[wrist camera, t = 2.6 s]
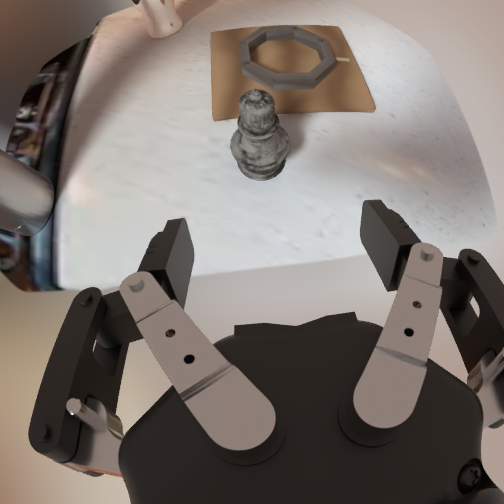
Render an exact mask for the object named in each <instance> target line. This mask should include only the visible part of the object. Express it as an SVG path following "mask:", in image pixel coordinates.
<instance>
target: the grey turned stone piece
mask: <svg viewBox="0 0 504 504" xmlns="http://www.w3.org/2000/svg"><path fill="white" fill-rule="evenodd" d="M239 111H240V116H239V118H238V124H237V125H238V129H237V130H236V131H235V133H234V134H233V136H232V139H231V145H230V148H231V152H232V155H233V156H234V158H235V159H236V161H237V163H238V167H239V169H240V170H241V172H242V173H243V174H244V175H245V176H247V177H248V178H250V179H253V180H257V181H265V180H269V179H272V178H274V177H276V176H277V175H278V174H279V173H280V172H281V171H282V169H283V168H284V164H285V158H286V156H287V154H288V152H289V148H290V140H289V138H288V135H287V133H286V132H285V130H284V129H283V128H282V127H280V126H279V119H278V116H277V115H276V114H275V101H274V99H273V97H272V95H271V94H269V93H268V92H266V91H264V90H260V89H253V90H249V91H247V92H245V93H244V94H243V95H242V96H241V97H240V99H239Z"/></svg>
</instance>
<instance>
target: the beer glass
mask: <svg viewBox="0 0 504 504" xmlns="http://www.w3.org/2000/svg"><path fill="white" fill-rule="evenodd" d="M131 1H132V3H133V4H134V6H135V7H136V8H137V9H138V11H139V12H140V13H141V14H142V16H143V17H144V19H145V20H146V22H147V25H148V30H149V35H150V36H151V37H152V38H157V39H158V38H164V37H168V36H170V35H172V34H174V33H176V32H177V31H179V30H180V29H181V28H182V26H183V22H182V20H181V18H180V17H179V15H178V13H177V11H176V8H175V2H174V0H131Z"/></svg>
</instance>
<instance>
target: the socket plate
mask: <svg viewBox="0 0 504 504" xmlns="http://www.w3.org/2000/svg"><path fill="white" fill-rule="evenodd" d="M211 83H212V115H213V120H214V121H220V120H227V119H235V118H239V116H240V111H239V99H240V97H241V96H242V95H243V94H244V93H245V92H247V91H249V90H253V89H260V90H264V91H266V92H268V93H269V94H271V95H272V97H273V99H274V101H275V114H286V113H304V112H374V110H375V106H374V103H373V100H372V98H371V95H370V93H369V90H368V88H367V85H366V83H365V81H364V78H363V76H362V74H361V72H360V69H359V67H358V65H357V63H356V61H355V58H354V56H353V54H352V52H351V50H350V48H349V46H348V44H347V42H346V40H345V38H344V36H343V35H342V33H341V31H340V29H339V27H338V26H320V25H279V26H261V27H249V28H240V29H231V30H224V31H217V32H211Z"/></svg>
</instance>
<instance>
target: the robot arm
mask: <svg viewBox="0 0 504 504" xmlns="http://www.w3.org/2000/svg"><path fill="white" fill-rule="evenodd" d="M53 203H54V186H53V183H52V181H51V179H50V178H48V177H47V176H45V175H43V174H42V173H40V172H38V171H36V170H35V169H33V168H31V167H30V166H28V165H26V164H25V163H23V162H21V161H19V160H18V159H16V158H14V157H13V156H11V155H9V154H7V153H6V152H4V151H2V150H1V149H0V228H2V229H5V230H8V231H12V232H15V233H19V234H22V235H26V236H32V235H35V234H36V233H38V232H39V231H40V230H41V229H42V228H43V226H44V225H45V223H46V222H47V220H48V218H49V216H50V213H51V210H52V207H53ZM360 238H361V242H362V244H363V246H364V247H365V249H366V251H367V253H368V255H369V257H370V259H371V260H372V262H373V264H374V266H375V268H376V270H377V272H378V274H379V276H380V278H381V280H382V282H383V284H384V286H385V288H386V290H387V291H388V292H389V291H395V290H397V294H396V297H395V300H394V302H393V305H392V308H391V310H390V313H389V316H388V318H387V321H386V323H385V326H384V328H383V327H381V326H379V325H377V324H374V323H370V322H365V321H359V320H357V317H356V314H355V312H349V313H343V314H336V315H329V316H325V317H322V318H319V319H316V320H313V321H310V322H308V323H305V324H302V325H298V326H290V325H280V324H270V323H258V324H246V325H235V326H234V335H231V336H228V337H225V338H223V339H221V340H219V341H217V342H216V343H214V344H212V343H211V342H210V341H209V340H208V339H207V338H206V336H205V335H204V334H203V333H202V332H201V331H200V329H199V328H198V327H197V326H196V325H195V324H194V322H193V321H192V320H191V319H190V317H189V316H188V315H187V314H186V313H185V312H184V305H185V301H186V296H187V291H188V285H189V281H190V276H191V272H192V267H193V263H194V248H193V244H192V240H191V237H190V233H189V229H188V226H187V222H186V220H185V218H180V219H173V220H168V221H167V223H166V226H165V228H164V230H163V232H158V233H157V234H156V235H155V236H154V237H153V238H152V239H151V241H150V243H149V246H148V248H147V250H146V252H145V253H146V254H145V255H144V257H143V259H142V262H141V264H140V266H139V269H138V271H137V272H136V273H133V274H131V275H129V276H128V277H127V278H125V279H124V280H123V282H122V283H121V285H120V290H119V291H116V292H113V293H109V294H107V295H103V294H102V293H101V291H100V290H99V289H98V288H96V287H90V288H87V289H84V290H83V291H81V292H80V293H79V294H78V295H77V296H76V297H75V298H74V300H73V302H72V304H71V306H70V309H69V311H68V313H67V315H66V318H65V320H64V322H63V325H62V327H61V329H60V332H59V335H58V337H57V339H56V342H55V345H54V347H53V350H52V353H51V356H50V358H49V361H48V364H47V367H46V370H45V373H44V376H43V379H42V382H41V385H40V389H39V392H38V395H37V399H36V402H35V406H34V410H33V414H32V418H31V422H30V426H29V433H28V435H29V441H30V444H31V445H32V447H33V448H34V450H36V451H37V452H39V453H40V454H42V455H44V456H46V457H48V458H50V459H52V460H53V461H55V462H56V463H59V464H61V465H63V466H65V467H68V468H70V469H72V470H75V471H77V472H82V473H85V474H87V475H90V476H93V477H98V476H101V475H103V474H108V475H112V476H117V477H123V479H124V482H125V484H126V487H127V490H128V493H129V497H130V501H131V504H504V493H503V492H502V491H501V490H500V489H499V488H498V487H497V486H496V485H495V484H494V483H493V481H492V480H491V479H490V478H489V476H488V475H487V473H486V472H485V470H484V468H483V465H482V461H481V437H482V430H483V429H484V428H486V427H490V428H498V427H500V426H502V425H503V424H504V284H503V283H502V281H501V280H500V279H499V277H498V276H497V274H496V273H495V271H494V270H493V269H492V267H491V266H490V265H489V263H488V262H487V260H486V259H485V258H484V257H483V256H482V255H481V254H480V253H479V252H477V251H475V250H472V249H463V250H461V251H460V253H459V256H458V259H454V258H447V257H443V254H442V252H441V251H440V250H439V249H438V248H437V247H435V246H433V245H431V244H428V243H422V242H421V241H420V239H419V238H418V237H417V236H416V234H415V233H414V232H413V230H412V229H411V228H409V226H408V224H407V223H406V222H405V221H404V219H403V218H402V217H401V216H400V215H399V214H398V213H396V212H394V211H393V210H391V209H388V208H387V207H386V206H385V204H384V203H383V202H382V201H381V200H365V201H364V202H363V206H362V217H361V226H360ZM473 296H474V298H475V300H476V301H477V303H478V305H479V308H480V315H479V318H478V317H477V315H476V313H475V311H474V309H473V308H472V306H471V304H470V301H471V299H472V297H473ZM439 308H440V309H441V311H442V313H443V315H444V317H445V319H446V322H447V324H448V326H449V328H450V330H451V333H452V335H453V337H454V340H455V342H456V344H457V347H458V349H459V352H460V354H461V356H462V359H463V362H464V364H465V367H466V369H467V372H468V377H467V384H465V383H464V382H462V381H461V380H460V379H458V378H457V377H455V376H454V375H452V374H451V373H450V372H448V371H447V370H445V369H444V368H442V367H441V366H439V365H438V364H437V363H435V362H434V361H432V360H431V359H429V358H428V355H429V351H430V347H431V343H432V339H433V335H434V330H435V325H436V321H437V317H438V311H439ZM143 338H144V339H145V341H146V343H147V344H148V346H149V348H150V349H151V351H152V353H153V354H154V356H155V358H156V359H157V361H158V362H159V364H160V365H161V367H162V369H163V370H164V372H165V374H166V375H167V376H168V378H169V380H170V381H171V383H172V384H173V385H172V386H171V387H170V388H169V389H168V390H167V391H166V392H165V393H164V394H163V395H162V396H161V397H160V398H159V400H158V401H157V402H156V403H155V404H154V405H153V406H152V407H151V408H150V409H149V410H148V411H147V412H146V413H145V414H144V415H143V416H142V417H141V418H140V419H139V420H138V421H137V422H136V423H135V424H134V425H133V426H132V427H131V428H130V429H129V430H128V431H127V432H126V434H125V436H124V434H123V426H122V422H121V420H120V418H119V417H118V416H117V415H116V408H117V402H118V396H119V390H120V385H121V380H122V374H123V369H124V365H125V360H126V355H127V351H128V346H129V343H130V342H133V341H136V340H140V339H143ZM95 340H96V341H97V342H96V345H95V348H94V352H93V346H94V343H95Z"/></svg>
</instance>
